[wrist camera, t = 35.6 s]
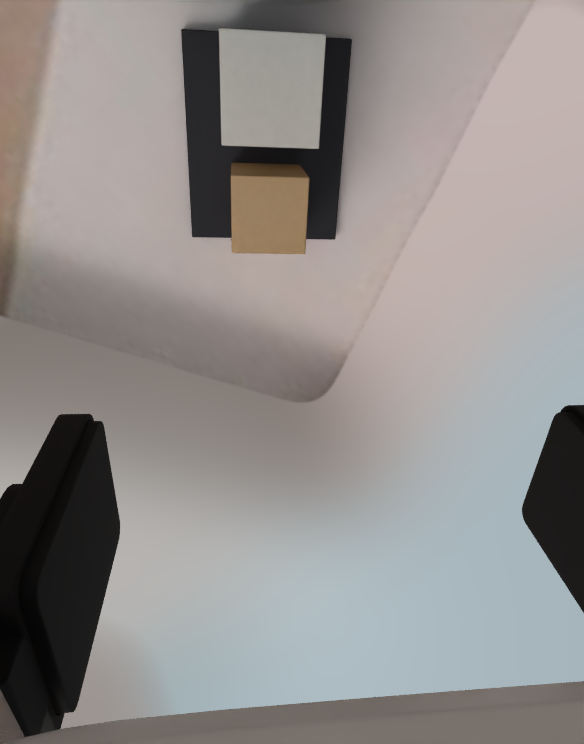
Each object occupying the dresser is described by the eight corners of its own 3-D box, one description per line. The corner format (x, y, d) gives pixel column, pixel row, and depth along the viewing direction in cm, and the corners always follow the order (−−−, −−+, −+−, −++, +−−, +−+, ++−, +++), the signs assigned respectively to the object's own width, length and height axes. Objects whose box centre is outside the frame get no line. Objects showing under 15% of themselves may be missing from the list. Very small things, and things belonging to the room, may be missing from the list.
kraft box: (231, 162, 34) (230, 175, 29) (300, 164, 34) (309, 177, 30) (232, 231, 36) (231, 253, 31) (296, 233, 36) (305, 254, 32)
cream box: (220, 33, 30) (218, 27, 26) (314, 39, 31) (326, 33, 27) (223, 137, 33) (221, 145, 29) (309, 140, 33) (319, 148, 29)
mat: (182, 29, 30) (181, 28, 30) (350, 39, 31) (352, 38, 31) (192, 235, 36) (192, 237, 36) (334, 237, 37) (335, 239, 37)
